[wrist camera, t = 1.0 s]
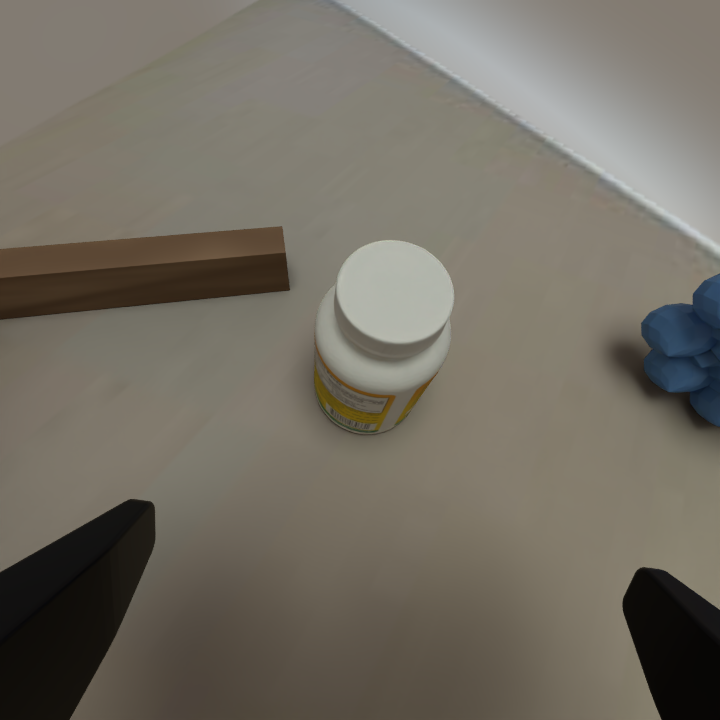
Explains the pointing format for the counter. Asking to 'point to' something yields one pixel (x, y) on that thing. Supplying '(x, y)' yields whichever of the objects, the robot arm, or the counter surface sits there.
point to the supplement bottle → (381, 335)
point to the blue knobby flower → (688, 349)
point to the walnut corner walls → (141, 271)
